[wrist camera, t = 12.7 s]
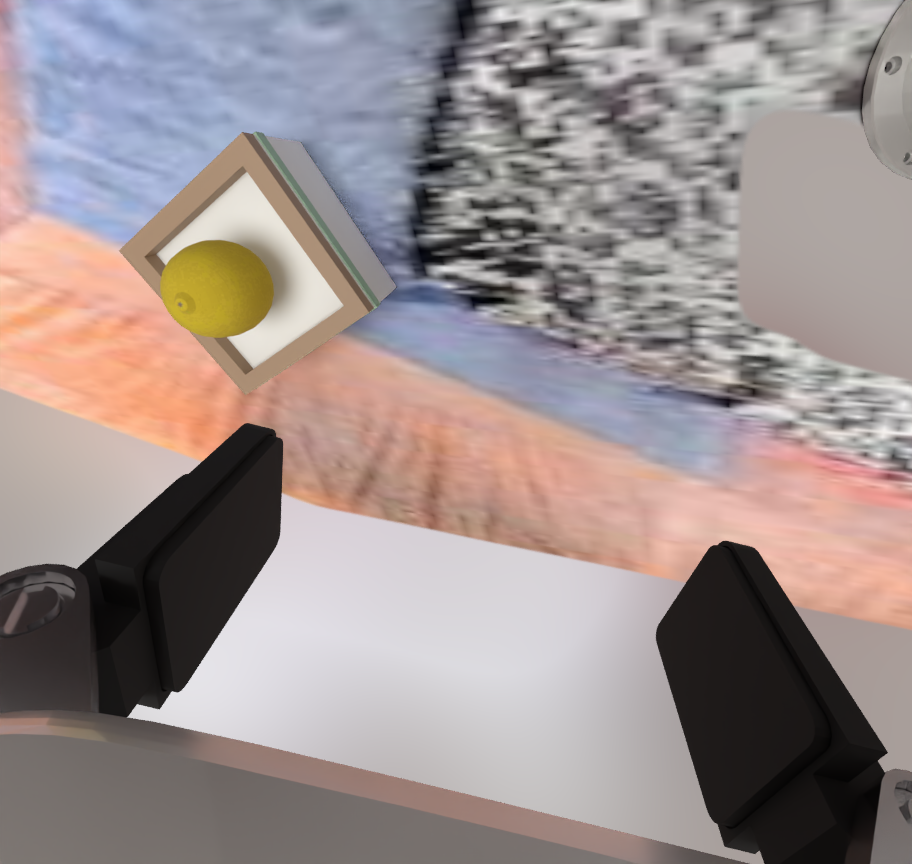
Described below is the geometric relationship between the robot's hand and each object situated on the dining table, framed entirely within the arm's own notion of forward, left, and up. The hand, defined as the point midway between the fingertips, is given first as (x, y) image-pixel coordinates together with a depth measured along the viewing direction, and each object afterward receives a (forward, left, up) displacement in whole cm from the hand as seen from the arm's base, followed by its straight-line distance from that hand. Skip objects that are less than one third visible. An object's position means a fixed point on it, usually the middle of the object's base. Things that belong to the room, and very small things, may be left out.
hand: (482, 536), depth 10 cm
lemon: (+10, +14, -24) cm, 29 cm away
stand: (+10, +14, -30) cm, 35 cm away
